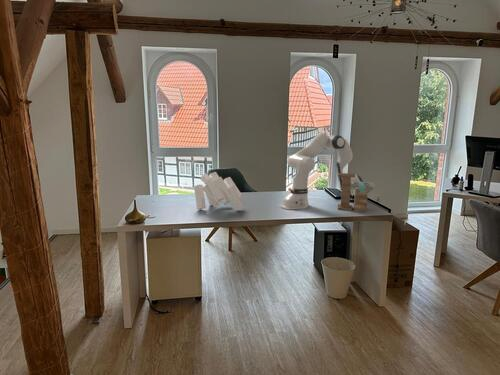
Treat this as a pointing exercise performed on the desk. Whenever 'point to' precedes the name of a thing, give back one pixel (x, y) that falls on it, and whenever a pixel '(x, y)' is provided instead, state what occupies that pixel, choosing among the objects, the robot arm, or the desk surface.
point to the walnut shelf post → (345, 191)
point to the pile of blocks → (217, 191)
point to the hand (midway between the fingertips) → (361, 182)
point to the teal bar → (361, 187)
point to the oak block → (360, 200)
